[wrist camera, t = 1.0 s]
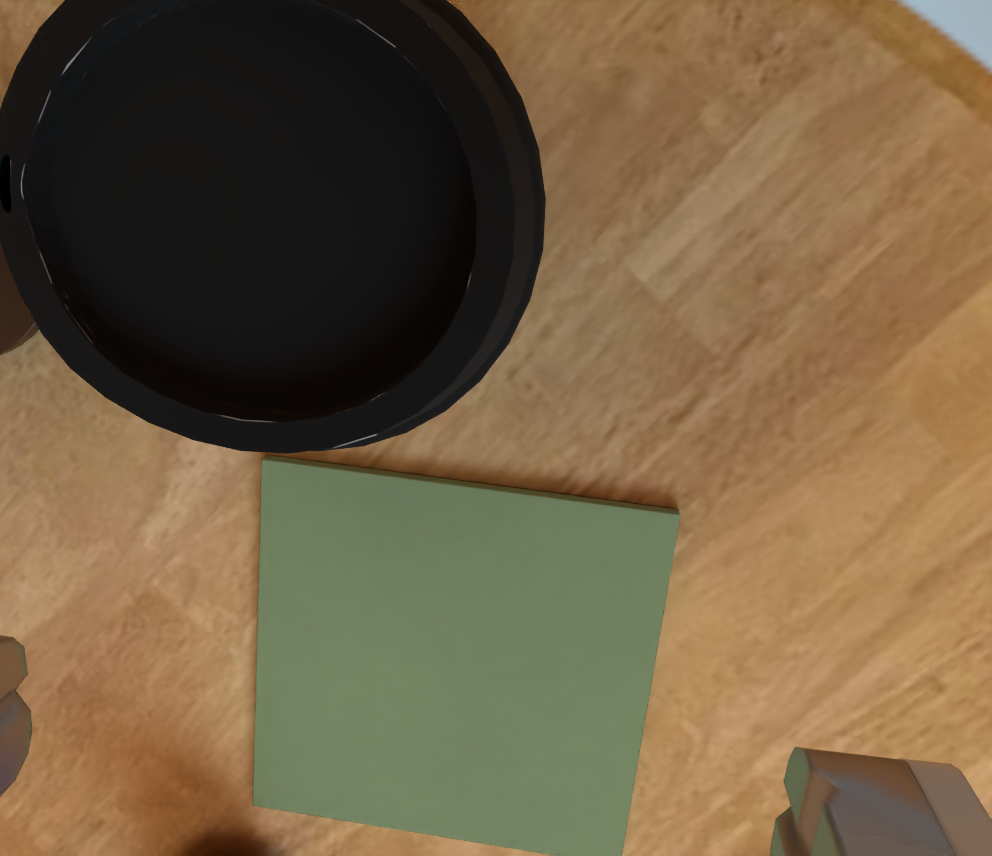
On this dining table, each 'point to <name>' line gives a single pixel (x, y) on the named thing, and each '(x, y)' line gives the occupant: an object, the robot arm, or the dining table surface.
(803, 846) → the robot arm
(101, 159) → the coffee cup
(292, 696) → the mat
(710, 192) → the dining table surface
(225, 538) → the dining table surface
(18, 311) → the stand
